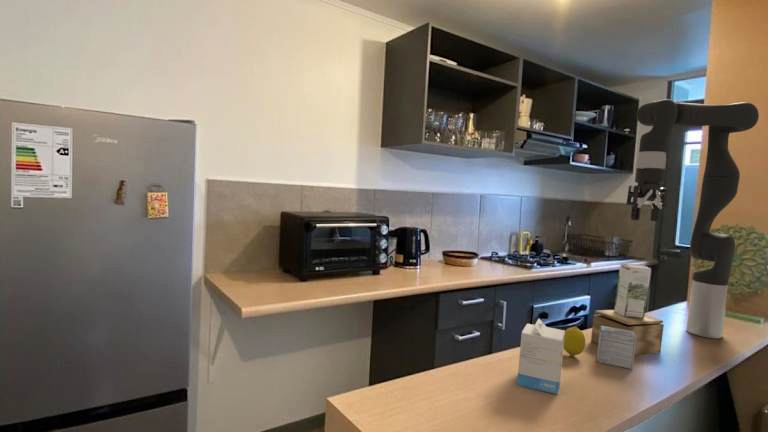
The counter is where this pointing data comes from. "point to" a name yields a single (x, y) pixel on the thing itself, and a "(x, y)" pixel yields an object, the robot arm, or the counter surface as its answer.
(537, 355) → the ink box
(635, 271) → the syrup box
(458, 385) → the counter surface
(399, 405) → the counter surface
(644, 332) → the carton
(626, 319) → the lid flap
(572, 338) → the lemon
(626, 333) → the medicine box
